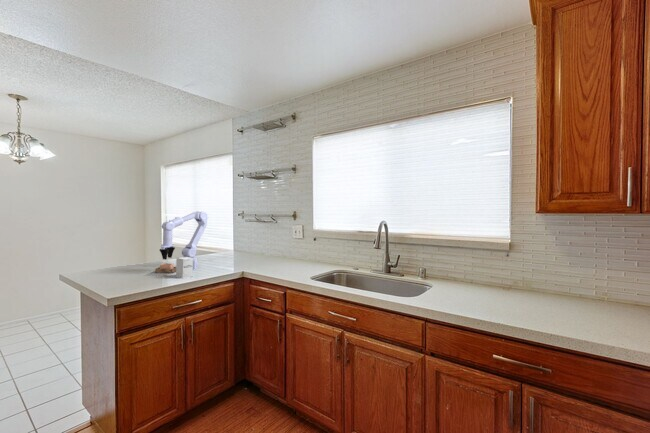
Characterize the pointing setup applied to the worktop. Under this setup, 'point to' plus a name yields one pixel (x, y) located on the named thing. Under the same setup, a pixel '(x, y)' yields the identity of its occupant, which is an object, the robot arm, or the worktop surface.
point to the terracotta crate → (166, 266)
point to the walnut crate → (165, 270)
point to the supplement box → (184, 267)
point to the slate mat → (156, 274)
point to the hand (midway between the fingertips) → (167, 258)
